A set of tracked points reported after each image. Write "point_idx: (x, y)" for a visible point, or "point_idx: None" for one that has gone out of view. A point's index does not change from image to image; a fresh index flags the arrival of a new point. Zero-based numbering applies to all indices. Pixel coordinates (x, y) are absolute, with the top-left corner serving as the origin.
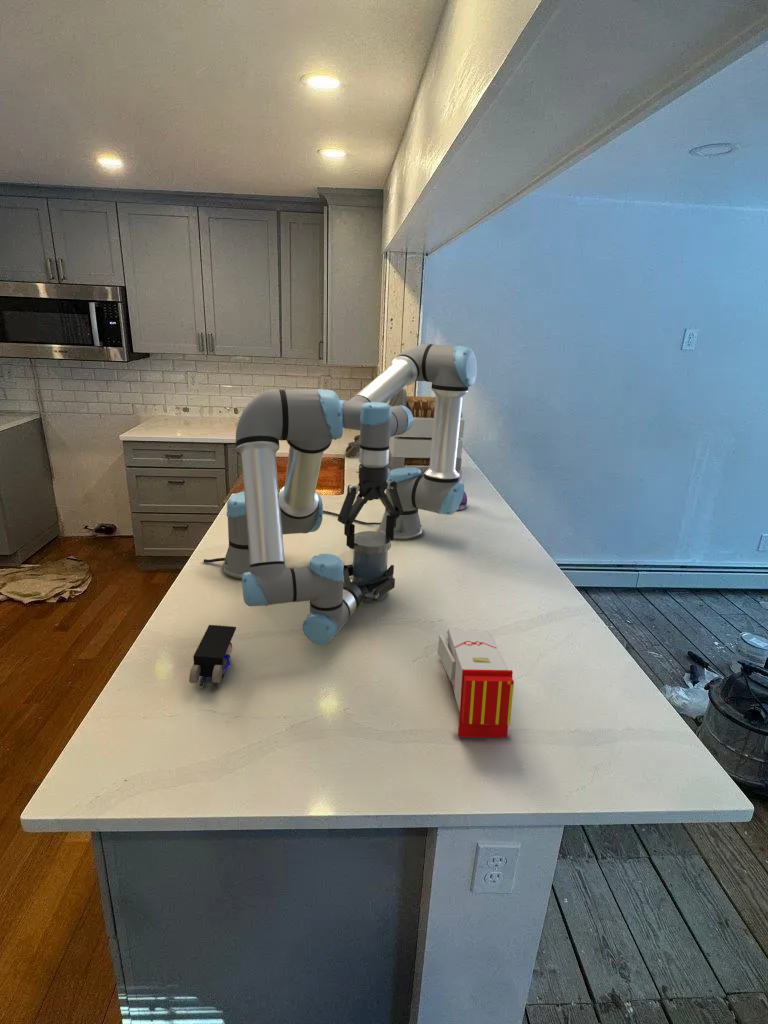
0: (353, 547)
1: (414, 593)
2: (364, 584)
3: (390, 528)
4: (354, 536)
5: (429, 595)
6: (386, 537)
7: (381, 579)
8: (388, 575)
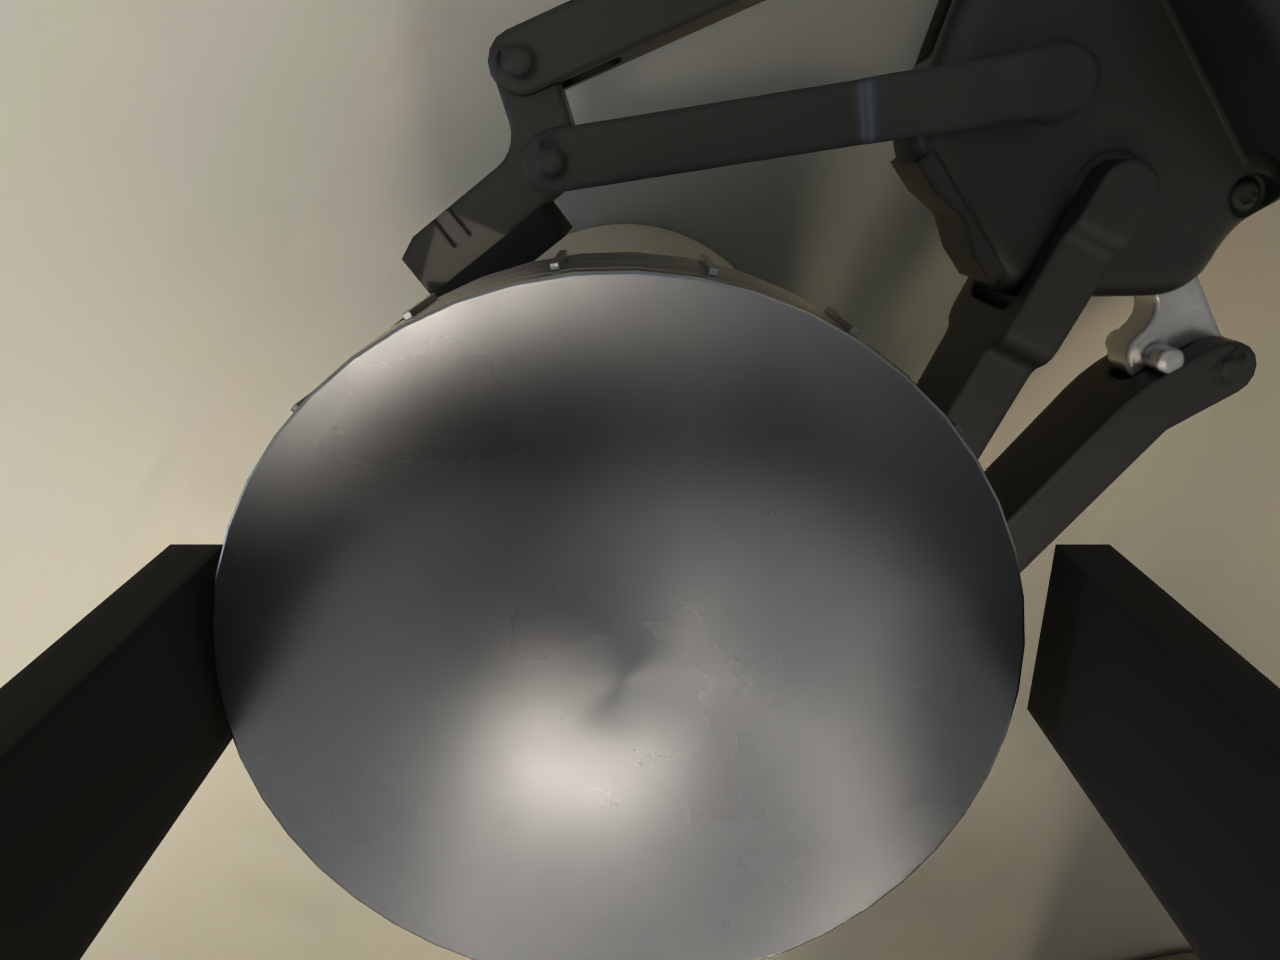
0: (1076, 554)
1: (222, 176)
2: (976, 62)
3: (93, 722)
4: (837, 874)
5: (93, 60)
6: (294, 597)
7: (662, 127)
8: (494, 224)
